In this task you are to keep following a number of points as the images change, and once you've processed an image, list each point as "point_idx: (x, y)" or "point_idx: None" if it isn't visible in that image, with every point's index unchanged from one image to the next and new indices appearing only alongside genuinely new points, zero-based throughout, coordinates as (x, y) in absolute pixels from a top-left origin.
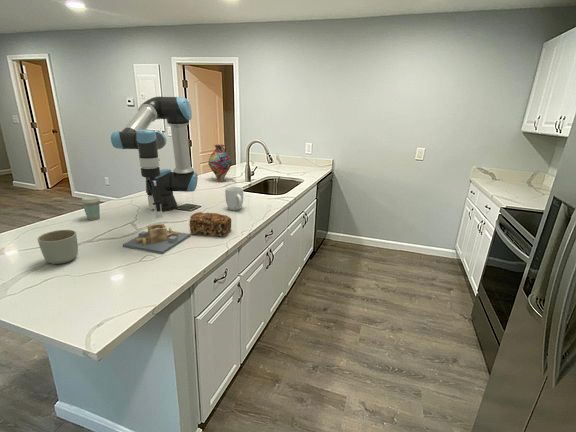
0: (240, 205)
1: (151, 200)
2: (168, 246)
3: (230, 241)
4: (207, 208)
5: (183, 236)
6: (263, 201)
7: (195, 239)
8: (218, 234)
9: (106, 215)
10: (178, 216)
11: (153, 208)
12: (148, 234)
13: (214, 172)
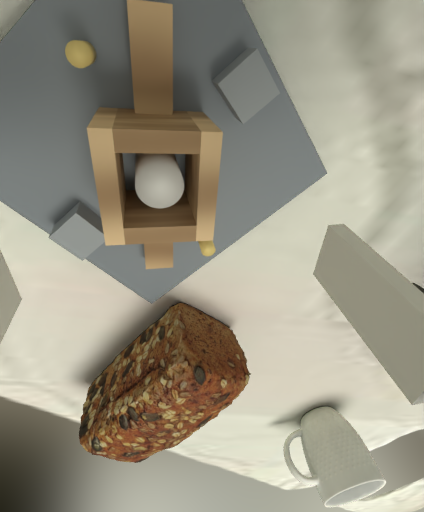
0: (284, 449)
1: (380, 318)
2: (6, 191)
3: (37, 392)
4: None
5: (134, 276)
6: None
7: (105, 305)
8: (101, 377)
9: None
10: None
11: (319, 260)
12: (207, 116)
13: None
